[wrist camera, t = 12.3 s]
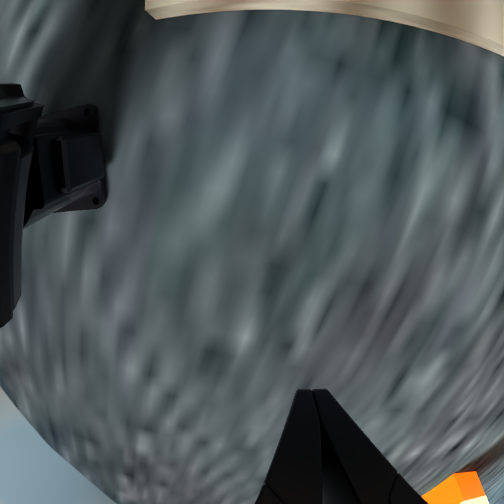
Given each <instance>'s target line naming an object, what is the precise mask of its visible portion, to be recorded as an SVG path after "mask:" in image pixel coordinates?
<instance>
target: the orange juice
mask: <svg viewBox="0 0 504 504" xmlns="http://www.w3.org/2000/svg"><path fill="white" fill-rule="evenodd" d="M422 498H423V499H424V500H425V501H427V502H428V503H429V504H489V502H488V500H487V497H486V495H485V493H484V490H483V488H482V485H481V483H480V481H479V478H478V476H477V474H476V471H474V472H465V473H455V474H453V475H451V476H450V477H449V478H447V479H446V480H445V481H443V482H442V483H440V484H439V485H438V486H436V487H435V488H433V489H432V490H431V491H429V492H428V493H426V494H425V495H423V496H422Z"/></svg>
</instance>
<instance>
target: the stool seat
mask: <svg viewBox="0 0 504 504" xmlns="http://www.w3.org/2000/svg"><path fill="white" fill-rule="evenodd" d="M145 10H146V11H147V12H148V13H149V14H150V15H151V16H152V17H153V18H154V19H156V20H158V19H164V18H170V17H176V16H183V15H190V14H199V13H208V12H220V11H234V10H305V11H320V12H331V13H341V14H349V15H356V16H363V17H370V18H376V19H381V20H386V21H392V22H396V23H401V24H406V25H410V26H414V27H418V28H422V29H426V30H430V31H433V32H437V33H440V34H444V35H447V36H450V37H453V38H456V39H460V40H462V41H465V42H468V43H471V44H474V45H477V46H479V47H482V48H485V49H487V50H490V51H492V52H495V53H497V54H499V55H502V56H504V0H145Z"/></svg>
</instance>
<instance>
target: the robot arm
mask: <svg viewBox="0 0 504 504" xmlns="http://www.w3.org/2000/svg"><path fill="white" fill-rule="evenodd" d="M43 107H44V105H40V104H36V103H34V100H30V99H27V98H26V97H25V96H24V93H23V90H22V87H21V85H20V84H15V83H0V328H1V327H3V326H4V325H5V324H6V323H7V322H9V321H10V320H11V319H12V317H13V310H14V309H15V307H16V305H17V303H18V300H19V298H20V296H21V264H22V261H21V259H22V235H23V229H24V228H26V227H27V226H29V225H31V224H33V223H34V222H36V221H38V220H40V219H42V218H44V217H45V216H47V215H49V214H51V213H55V212H65V211H76V210H88V209H98V208H100V207H102V206H103V205H104V204H105V201H106V198H105V190H104V182H103V177H104V175H105V171H104V162H103V151H102V138H101V135H100V134H99V126H98V110H97V107H96V106H95V105H93V104H87V105H82V106H78V107H74V108H70V109H66V110H62V111H59V112H55V113H52V114H48V115H45V116H41V114H42V110H43ZM89 109H91V114H90V116H88V114H87V112H88V110H89ZM96 197H98V198H99V203H97V202H96V200H95V199H96ZM255 504H429V503H428V502H427V501H425V500H424V499H423V498H422V497H421V496H420V495H419V494H418V493H417V492H416V491H415V490H414V489H413V488H412V487H411V486H410V485H409V484H408V483H407V482H406V481H405V479H404V478H403V477H402V476H401V475H400V474H399V473H398V474H397V471H396V469H395V468H394V467H393V466H392V465H391V464H390V463H389V461H388V460H387V459H386V458H385V457H384V456H383V454H382V453H381V452H380V451H379V450H378V449H377V448H376V446H375V445H374V444H373V443H372V442H371V441H370V439H369V438H368V437H367V436H366V435H365V434H364V432H363V431H362V430H361V429H360V428H359V427H358V425H357V424H356V423H355V422H354V421H353V420H352V418H351V417H350V416H349V415H348V414H347V412H346V411H345V410H344V409H343V408H342V407H341V405H340V404H339V403H338V402H337V401H336V399H335V398H334V397H333V396H332V395H331V393H330V392H329V391H328V390H326V389H313V390H311V389H298V390H297V391H296V393H295V396H294V400H293V403H292V406H291V409H290V412H289V415H288V418H287V420H286V423H285V426H284V429H283V432H282V435H281V438H280V440H279V443H278V446H277V449H276V452H275V454H274V457H273V460H272V462H271V465H270V468H269V470H268V473H267V475H266V478H265V481H264V483H263V485H262V488H261V490H260V493H259V495H258V497H257V500H256V502H255Z"/></svg>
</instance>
